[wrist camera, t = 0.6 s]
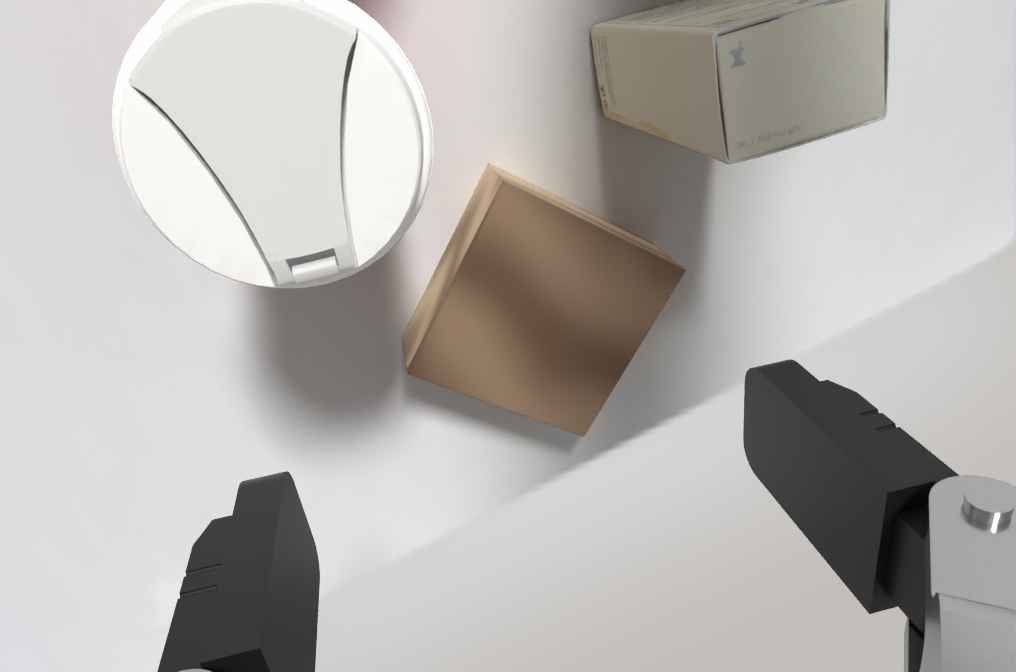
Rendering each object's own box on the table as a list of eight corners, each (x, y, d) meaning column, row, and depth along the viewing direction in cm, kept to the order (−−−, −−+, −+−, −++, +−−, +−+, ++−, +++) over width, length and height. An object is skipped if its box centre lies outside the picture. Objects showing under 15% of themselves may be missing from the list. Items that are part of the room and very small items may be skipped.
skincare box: (601, 118, 35) (717, 173, 24) (586, 20, 33) (706, 32, 22) (723, 85, 35) (890, 124, 24) (715, -13, 33) (895, -18, 22)
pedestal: (488, 163, 34) (504, 182, 31) (654, 244, 38) (685, 270, 34) (402, 338, 37) (408, 373, 34) (563, 398, 41) (584, 436, 37)
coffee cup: (419, 159, 34) (468, 265, 20) (244, 200, 33) (176, 338, 20) (372, -39, 30) (393, -68, 17) (172, 1, 29) (26, 5, 16)
